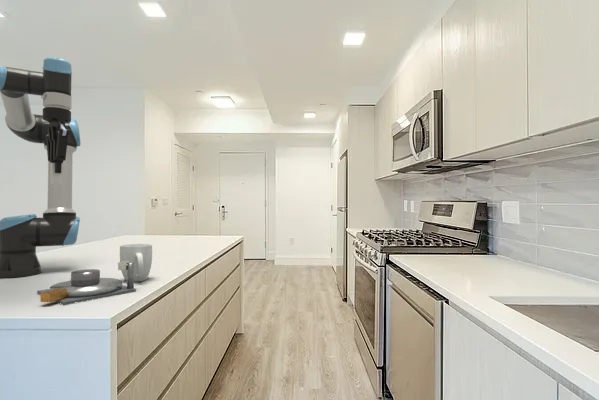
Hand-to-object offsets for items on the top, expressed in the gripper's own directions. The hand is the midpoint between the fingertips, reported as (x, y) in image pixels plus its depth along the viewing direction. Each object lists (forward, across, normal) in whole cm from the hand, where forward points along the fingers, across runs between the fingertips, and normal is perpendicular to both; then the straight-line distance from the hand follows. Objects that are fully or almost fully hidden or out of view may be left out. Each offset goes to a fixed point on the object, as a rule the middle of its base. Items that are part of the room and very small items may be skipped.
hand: (56, 183), depth 118 cm
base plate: (+34, +6, +7) cm, 36 cm away
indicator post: (+34, +13, +16) cm, 40 cm away
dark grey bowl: (+32, +5, +7) cm, 33 cm away
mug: (+35, +1, +26) cm, 43 cm away
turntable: (+33, +7, +4) cm, 34 cm away
